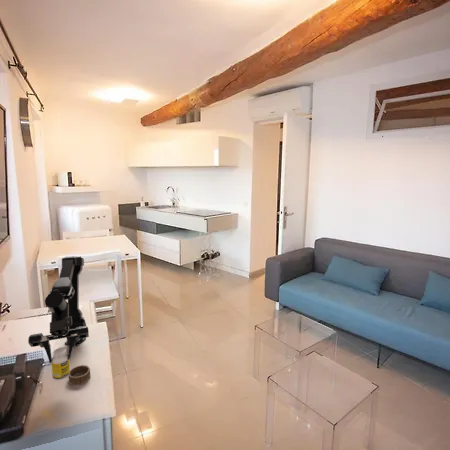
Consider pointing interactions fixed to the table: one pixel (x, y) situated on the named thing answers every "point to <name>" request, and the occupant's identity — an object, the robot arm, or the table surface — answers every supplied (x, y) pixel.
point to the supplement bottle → (60, 364)
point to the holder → (79, 379)
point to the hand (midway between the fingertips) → (59, 361)
